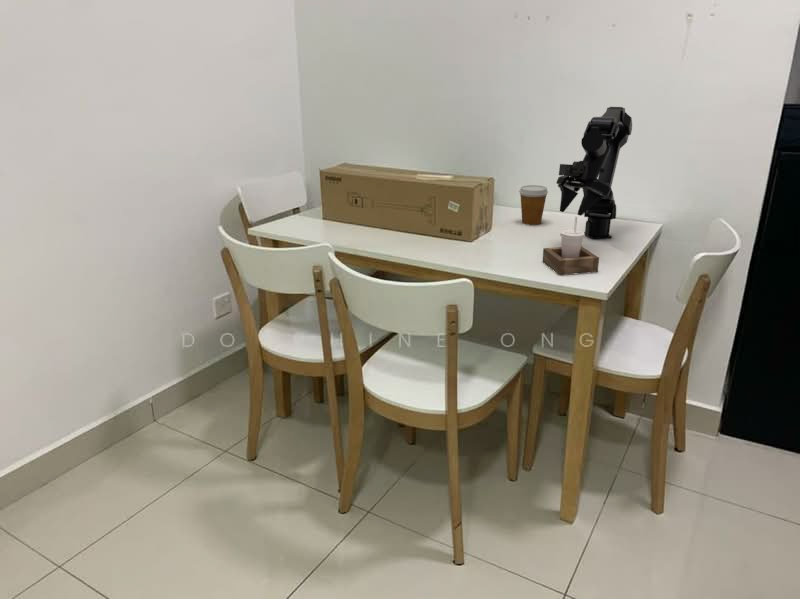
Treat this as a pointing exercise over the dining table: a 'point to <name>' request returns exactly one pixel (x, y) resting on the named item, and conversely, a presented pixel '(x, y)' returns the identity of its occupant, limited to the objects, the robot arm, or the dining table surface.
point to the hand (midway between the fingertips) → (569, 213)
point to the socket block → (570, 261)
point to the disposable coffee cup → (532, 203)
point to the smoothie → (571, 241)
